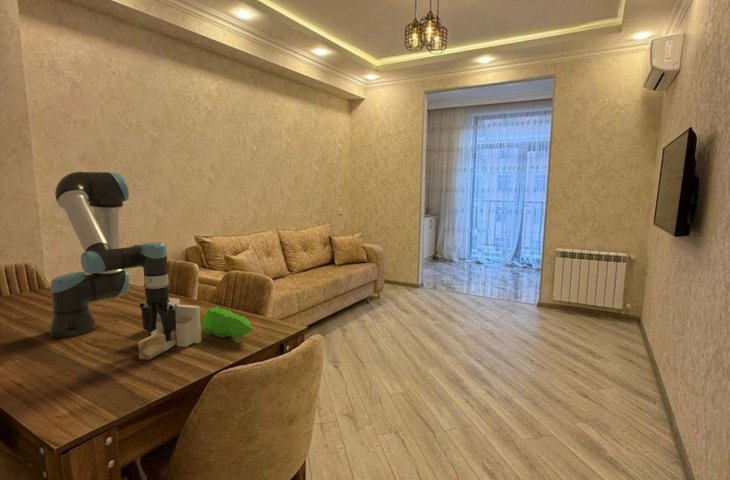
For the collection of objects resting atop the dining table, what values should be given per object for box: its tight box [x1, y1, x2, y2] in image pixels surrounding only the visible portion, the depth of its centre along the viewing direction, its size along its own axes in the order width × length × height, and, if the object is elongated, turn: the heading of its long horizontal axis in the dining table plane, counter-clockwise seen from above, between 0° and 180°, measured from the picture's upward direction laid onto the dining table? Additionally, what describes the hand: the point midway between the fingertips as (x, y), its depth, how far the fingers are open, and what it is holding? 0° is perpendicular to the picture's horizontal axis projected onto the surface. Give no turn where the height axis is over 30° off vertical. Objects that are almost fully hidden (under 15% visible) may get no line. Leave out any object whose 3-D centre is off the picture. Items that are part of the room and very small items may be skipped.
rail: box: [137, 329, 177, 360], centre depth 143 cm, size 4×16×6 cm, turn 168°
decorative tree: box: [200, 306, 254, 339], centre depth 157 cm, size 11×12×30 cm
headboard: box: [155, 304, 202, 348], centre depth 151 cm, size 20×6×14 cm, turn 78°
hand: (161, 348), depth 144 cm, fingers closed on rail, 4 cm apart
